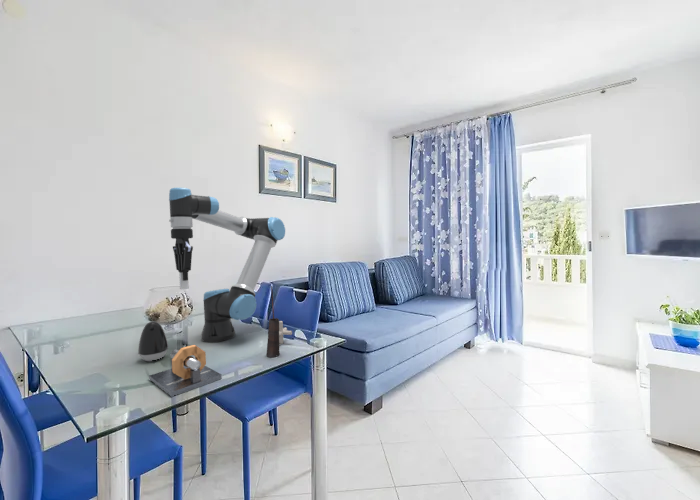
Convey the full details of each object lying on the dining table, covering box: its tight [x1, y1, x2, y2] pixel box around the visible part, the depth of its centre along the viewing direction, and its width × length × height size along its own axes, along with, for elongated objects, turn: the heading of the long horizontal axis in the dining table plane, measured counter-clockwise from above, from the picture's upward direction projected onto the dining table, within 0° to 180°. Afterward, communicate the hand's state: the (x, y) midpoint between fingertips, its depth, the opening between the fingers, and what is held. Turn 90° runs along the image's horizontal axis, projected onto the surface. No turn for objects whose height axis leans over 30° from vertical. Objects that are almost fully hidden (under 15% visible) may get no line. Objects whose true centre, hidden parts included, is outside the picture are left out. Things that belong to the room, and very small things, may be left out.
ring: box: [171, 344, 207, 379], centre depth 107 cm, size 2×10×10 cm, turn 139°
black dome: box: [137, 320, 169, 362], centre depth 128 cm, size 10×10×15 cm
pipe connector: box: [279, 320, 293, 345], centre depth 144 cm, size 10×10×10 cm
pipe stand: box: [148, 349, 222, 398], centre depth 109 cm, size 19×16×9 cm
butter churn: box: [266, 285, 281, 358], centre depth 129 cm, size 9×10×28 cm
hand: (184, 288), depth 126 cm, fingers closed
